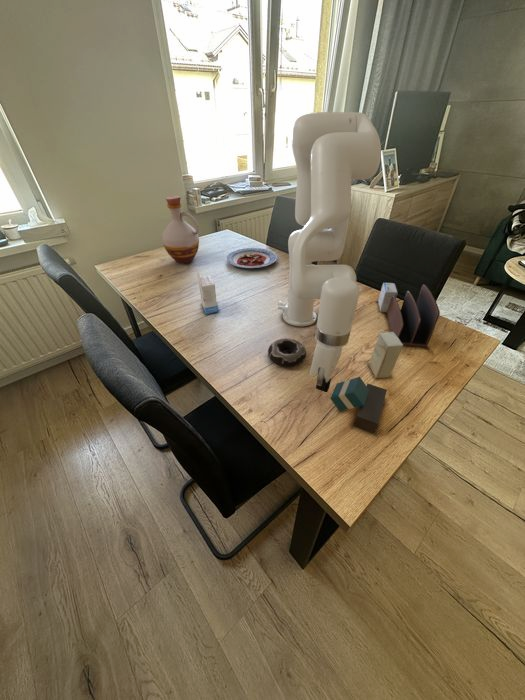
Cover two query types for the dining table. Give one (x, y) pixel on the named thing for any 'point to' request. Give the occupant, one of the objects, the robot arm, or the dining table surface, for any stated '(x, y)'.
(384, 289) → the medicine box
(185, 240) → the jug
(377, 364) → the cosmetic box
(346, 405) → the teal carton
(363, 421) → the dark block
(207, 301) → the ink box
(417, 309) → the letter holder
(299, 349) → the donut
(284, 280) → the dining table surface
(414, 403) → the dining table surface
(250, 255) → the ceramic plate
